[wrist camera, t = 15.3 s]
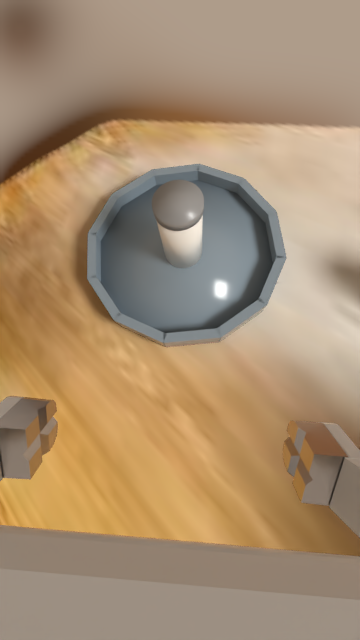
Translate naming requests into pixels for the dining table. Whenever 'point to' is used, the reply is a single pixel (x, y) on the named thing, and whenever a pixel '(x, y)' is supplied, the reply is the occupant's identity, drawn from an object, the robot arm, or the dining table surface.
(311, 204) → the dining table surface
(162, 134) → the dining table surface
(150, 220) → the dish
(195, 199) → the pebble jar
